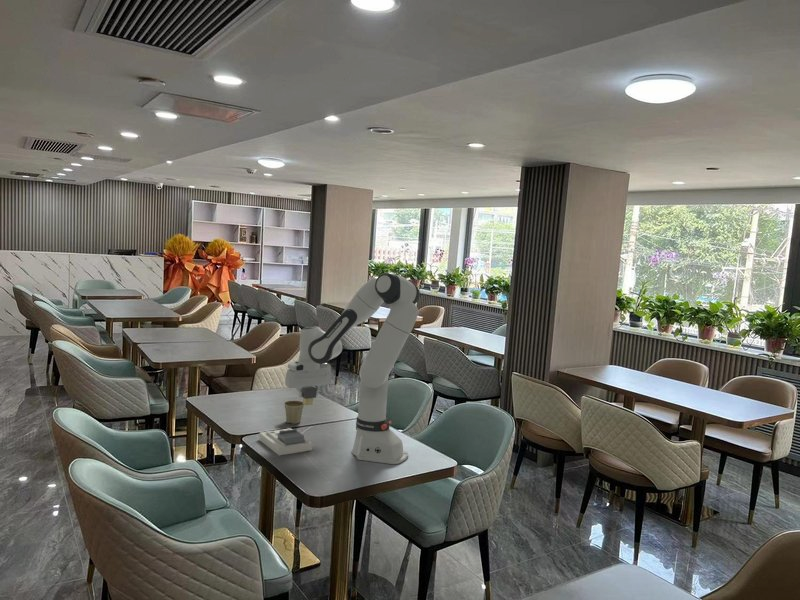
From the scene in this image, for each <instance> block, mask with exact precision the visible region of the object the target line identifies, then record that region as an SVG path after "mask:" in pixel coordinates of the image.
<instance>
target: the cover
mask: <svg viewBox="0 0 800 600" xmlns="http://www.w3.org/2000/svg"><path fill="white" fill-rule="evenodd" d="M304 437H305V435H303V434H302V433H301V432H299V431H298V430H297V429H296V428H295V429H293V430H286V431H280V433H278V439H279V440H280V441H282V442H283V443H284V444H285V445H286V444H293V443H300V442H304Z"/></svg>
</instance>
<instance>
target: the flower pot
mask: <svg viewBox="0 0 800 600" xmlns="http://www.w3.org/2000/svg"><path fill="white" fill-rule="evenodd" d="M283 405H284V409H285V417H286V423H288V424H299V423H300V422H301V420H302V414H303V409H304V406H305V405H304V404H303V401H301V400H287V401H284V402H283Z"/></svg>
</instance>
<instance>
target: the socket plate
mask: <svg viewBox="0 0 800 600" xmlns="http://www.w3.org/2000/svg"><path fill="white" fill-rule="evenodd" d="M286 430H294V429H292V428H291V427H287V428H284V429H277V430H275V429H274V430H269V431H268V430H266V431H261V432H259V433H258V434H259V435H258V437H259V439H258V440H259V441H260V442H262V443H263V444H264V445H265V446H266V447H267V448H268V449H270V450H271V451H273V452H274V454H276V455H277V456H282V455H283V456H284V455H291V454H297V453H304V452H308V451H310V452H311V451H313V442H312V441H310V440H309V439H307V437H305V436H304V442H300V443H293V444H286V445H285V444H284V443H283V442H282V441H280V440H279V439H278V433H280V431H286Z"/></svg>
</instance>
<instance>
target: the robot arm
mask: <svg viewBox="0 0 800 600" xmlns="http://www.w3.org/2000/svg"><path fill="white" fill-rule="evenodd" d="M420 295H421V293H420V289H419V287H418V286H417V285H416V284H415V283H414V282H413V281H410V280H408V279H407V278H406V277H404V276H401V275H399V274H396V273H394V272H383V273H381V274H379V275H378V276H373V277H371V278H370V279H369V280H368V281H366V282H365V283H363V285H362V286H361V287H360V288H359V289H358V291H357V292H356V293H355V294H354V296H352V298H351V300H350V301H349V302H348V303H347V305H346V307H345V309H344V310H343V311H342V313H341V314H340V315H339V316H338V318H337V319H336V320H335V321H334V322H333V323H332V325H331V326H330V327H329V328H328V329H327V331H324V330H323V329H322V328H321V327H320V326H318V325H316V326H314V325H313V326H307V327H304V328H302V329H301V331H300V335H299V355H298V359H296V360H294V361H292V362H289V363H287V370H286V372H285V379H284V384H285V387H287V389H288V388H289V389H296V390H297V392H298V397H299V398H303V397H304V393H302V392H301V390H302V387H308V386H313V387H315V388H316V397H317V396H318V392H319V391H320V390H321V386H326V385H327V386H328V385H330V384H331V383H332V374H331V372H332V366H331V364H330V363H328V361H330V360H332V359H335V358H337V357H338V356H339V355H340V354H341V353H342V351H343V349H344V348H343V347H344V345H343V342H342V340H341V339H342V338H343V337H344V336H345V335H346V334H347V333H348V332H349V331H350V330H351V329H352V328H354V327H356V326H358V325H360V324H362V323H364V322H366V321H367V320H368V319H370V318H371V317H372V316H373V315H375V313H376V312H377V311H378V310H379V308H380V307H381V306H382V305H383V304H384V303H385V304H386V305H389V307H390V309H389V313H388V314H387V316H386V318H385V319H384V322H383V324H382V325H381V327H380V329H379V330H378V333H377V335H376V337H375V338H374V341H373V343H371V344H372V345H371V346H370V349H369V351H368V352H367V354H366V356H365V357H364V359H363V361H362V363H361V365H360V368H359V372H358V373H359V378H360V384H359V392H358V393H359V394H358V409H357V416H356V422H355V430H356V431H355V433H356V434H355V439H354V444H353V447H352V449H351V454H352V455H353V456H355V457H356V459H357V460H359V461H365V462H372V463H373V462H374V463H381V464H386V465H387V464H388V465H389V464H390V465H398V464H401V463H403V462H405V461H406V460H407V459H408V458H409V452H408V451H406V450H404V446H403V445H404V444H403V441H402V439H401V438H400V437H399V436H398V435H397V434H396V433H395V432H394V431H393V430H392V429H391V428H390V425H391V424H392V420H389V421H388V419H387V417H386V416H387V405H388V402H387V401H388V389H389V377H390V374H391V372H392V370H393V368H394V366H395V363H396V362H397V359H398V358H399V355H400V353H401V351H402V350H403V349H404V348H403V347H404V345H405V344H406V342H407V340H408V339H409V337H410V335H411V333H412V331H413V328H414V326H415V324H416V323H417V322H416V321H417V318H418V315H419V308H418V306H417V305H416V304H417V303H418V301H419V300H420V297H421V296H420Z"/></svg>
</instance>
